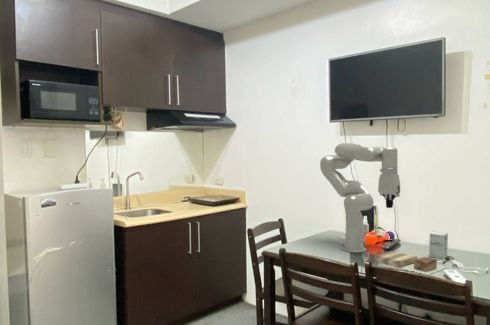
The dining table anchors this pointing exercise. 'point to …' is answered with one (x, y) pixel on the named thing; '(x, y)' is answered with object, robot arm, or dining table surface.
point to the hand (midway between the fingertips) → (389, 207)
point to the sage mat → (411, 268)
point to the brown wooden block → (425, 264)
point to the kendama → (391, 234)
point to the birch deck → (396, 259)
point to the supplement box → (438, 245)
